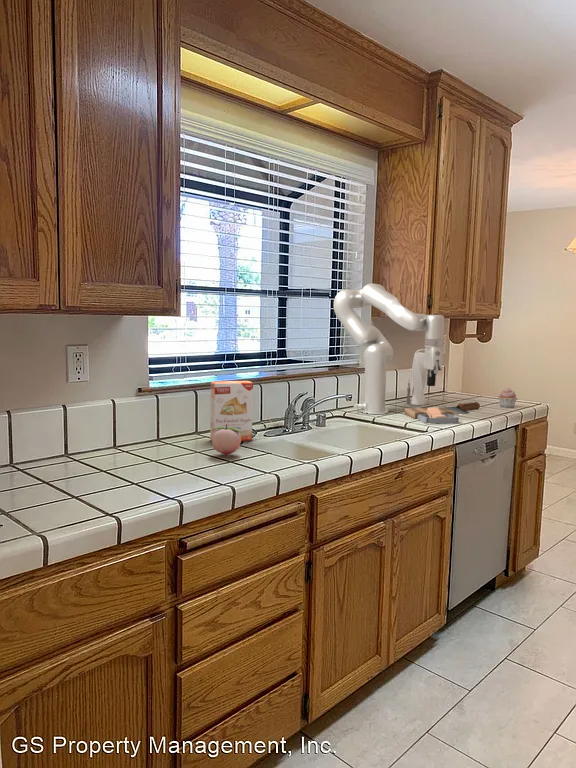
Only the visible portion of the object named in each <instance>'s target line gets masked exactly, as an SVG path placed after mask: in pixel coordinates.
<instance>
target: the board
mask: <svg viewBox="0 0 576 768" xmlns="http://www.w3.org/2000/svg"><path fill="white" fill-rule="evenodd" d="M428 408H429V407H407V408H406V407H405V408H404V416H406V415H407V416H406V417H408V416H409V417H408V418H410V417H411V419H412V418H413V420H414V419H417V415H418V414H427V409H428ZM444 408H445V407H438V409H439V411H440V412H441V414H450V415H453V416H454V412H452V411H450V410H447V409H444Z"/></svg>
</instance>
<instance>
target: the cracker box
mask: <svg viewBox="0 0 576 768" xmlns="http://www.w3.org/2000/svg"><path fill="white" fill-rule="evenodd" d="M253 401H254V383H253V382H252V381H249V380H229V381H228V380H226V381H225V380H224V381H222V380H221V381H210V425H209V427H210V433H209V435H210V437H209V438H210V440H211V441H212V436H213V434H214V432H215V431H216V430H218V429H215V430H214V431H212V430H213V429H214V428H217V427H224V428H226V424H227V428H237V429H238V430H240V432H241V433H240V432H239V433H240V436H241V442H245V441H247V442H248V441H253V414H254V413H253V405H254V403H253Z"/></svg>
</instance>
